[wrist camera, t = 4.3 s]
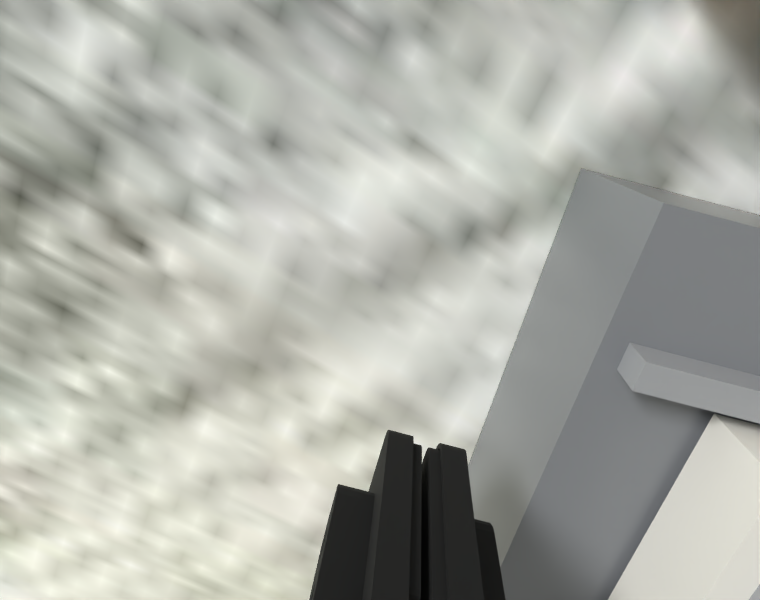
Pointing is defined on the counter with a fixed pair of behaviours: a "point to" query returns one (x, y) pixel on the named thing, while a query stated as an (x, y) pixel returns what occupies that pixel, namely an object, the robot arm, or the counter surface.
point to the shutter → (705, 525)
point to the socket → (615, 381)
